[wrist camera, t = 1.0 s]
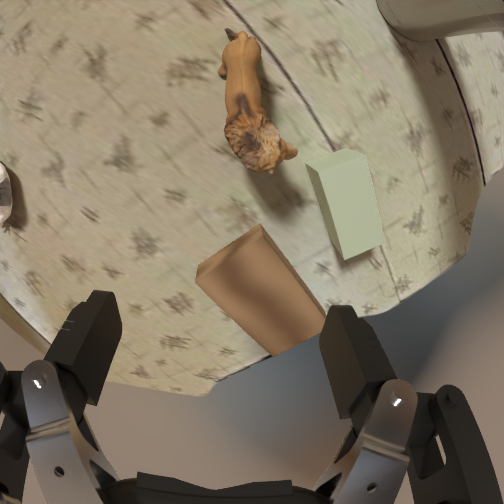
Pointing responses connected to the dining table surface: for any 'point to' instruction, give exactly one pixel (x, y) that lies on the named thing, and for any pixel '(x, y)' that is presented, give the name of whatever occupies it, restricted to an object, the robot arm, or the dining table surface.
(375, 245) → the sage brick
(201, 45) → the dining table surface
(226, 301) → the walnut brick
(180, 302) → the dining table surface
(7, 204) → the toy creature
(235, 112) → the lion figurine
